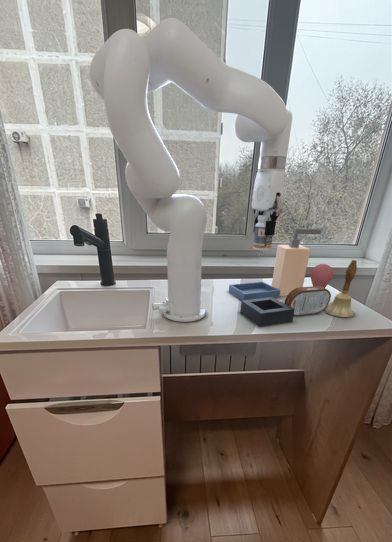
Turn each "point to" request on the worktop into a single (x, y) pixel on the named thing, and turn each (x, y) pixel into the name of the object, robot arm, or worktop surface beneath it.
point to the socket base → (266, 311)
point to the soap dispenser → (291, 263)
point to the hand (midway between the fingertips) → (263, 233)
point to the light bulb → (321, 275)
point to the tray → (254, 290)
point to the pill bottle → (261, 235)
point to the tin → (308, 300)
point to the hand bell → (344, 295)
